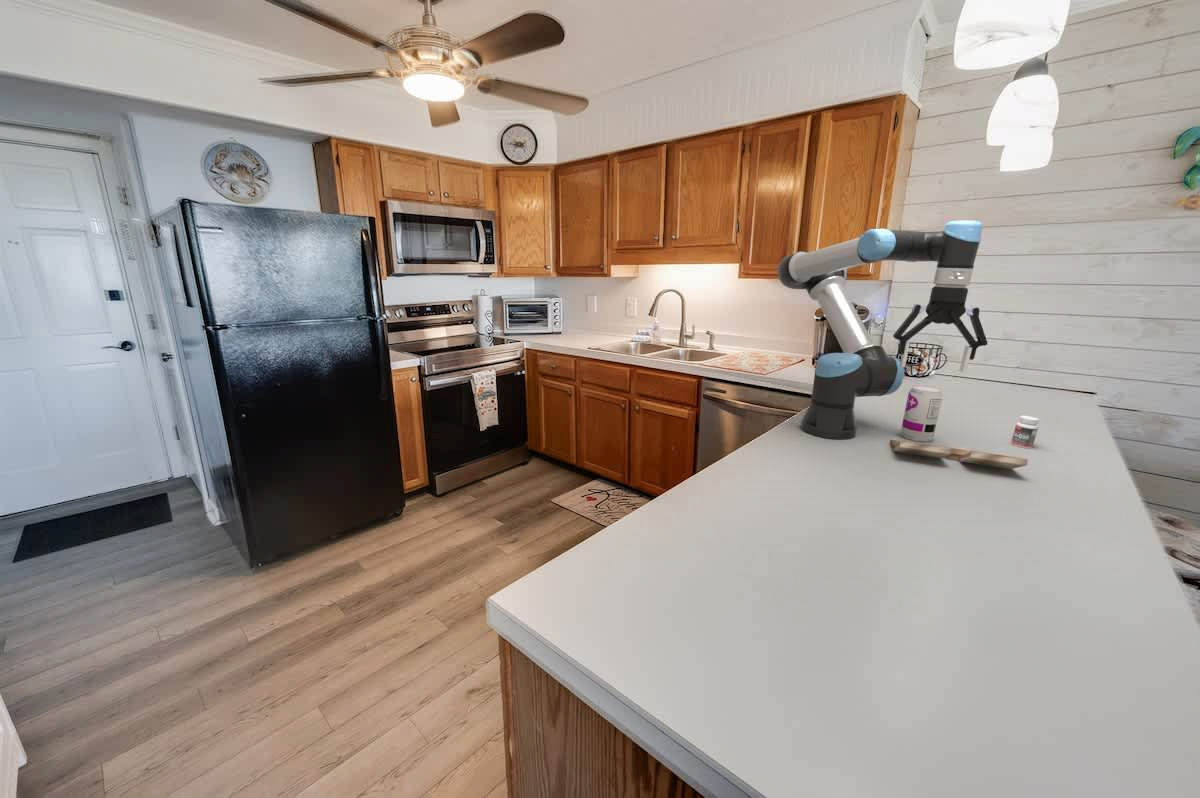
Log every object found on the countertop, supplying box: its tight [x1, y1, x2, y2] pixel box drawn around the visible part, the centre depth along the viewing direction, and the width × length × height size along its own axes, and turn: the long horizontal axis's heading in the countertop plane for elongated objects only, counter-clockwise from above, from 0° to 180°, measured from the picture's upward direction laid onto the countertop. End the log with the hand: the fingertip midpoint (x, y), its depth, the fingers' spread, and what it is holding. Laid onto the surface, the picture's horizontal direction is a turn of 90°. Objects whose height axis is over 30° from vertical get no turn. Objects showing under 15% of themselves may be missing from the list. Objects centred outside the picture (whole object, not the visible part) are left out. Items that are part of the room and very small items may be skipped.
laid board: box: [889, 439, 1005, 462], centre depth 128 cm, size 26×6×2 cm, turn 66°
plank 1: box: [892, 440, 953, 459], centre depth 124 cm, size 11×8×2 cm
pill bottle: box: [1010, 415, 1040, 449], centre depth 136 cm, size 5×5×8 cm
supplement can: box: [900, 385, 944, 443], centre depth 139 cm, size 8×8×15 cm
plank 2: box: [959, 450, 1029, 470], centre depth 118 cm, size 11×8×2 cm
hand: (931, 369), depth 126 cm, fingers open, 13 cm apart
